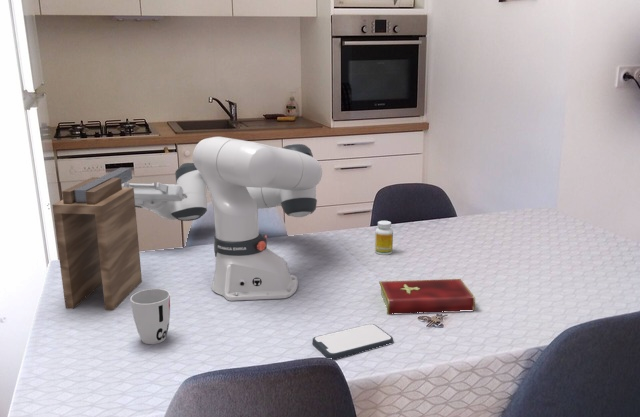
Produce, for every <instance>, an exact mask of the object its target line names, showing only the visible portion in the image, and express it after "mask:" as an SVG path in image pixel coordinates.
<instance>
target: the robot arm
mask: <svg viewBox="0 0 640 417" xmlns="http://www.w3.org/2000/svg"><path fill="white" fill-rule="evenodd" d="M192 160H193V161H192V162H185V163H184V162H183V163H182V164H181V165H179V167H178V168H177V169H176V170H175V172H174V175H175V183H176V184H170V183H169V184H167V183H164V184H163V183H161V182H157V181H156V182H152V183H130V182H129V181H127V182H125V183H123V184H122V187H124V188H134V198H135V208H137V209H144V210H147V211H151V212H153V213H155V214H156V215H157V216H159V217H161V218H163V219H166V220H170V221H175V220H178V221H182V222H183V221H184V222H188V221H189V222H190V221H196V220H198V219H200V218H202V217H203V216H204V215H205V214H206V213H207V211H208V196H207V195H208V194H207V193H209V196H210V199H211V203H212V209H213V216H214V228H215V230H214V231H215V235H214V236H213V237H214V238H213V251H214V256H215V265H214V266H215V268H214V269H215V270H214V277H213V282H212V286H211V289H212V291H213V292H214V293H216V294H218V295H220V296H222V297H224V298H225V300H227V301H230V302H231V301H232V302H233V301H254V300H256V301H257V300H276V299H277V300H278V299H287V298H289V297H292V296H293V295H294V294H295V293H296V291H297V290H298V287H299V282H298V278H297V276H295V275H294V274H290V271H289V266H288V263H287V261H286V260H285V259H284V258H283V257H282V256H280V255H278V254H276V253H275V252H274V251H273V250H271V249H270V248H268V242H267V240H268V238H267V237H268V236H267V234H265V235H262V234H261V233H260V232H259V231H260V230H259V228H260V227H259V210H262V209H263V210H264V209H269V208H270V209H271V208H276V207H277V208H278V207H281V208H282V210H283V213H285V214H286V215H287V216H289V217H293V218H303V217H307V216H309V215H311V214H313V213H314V212H315V211H316V209H317V202H318V200H317V199H316V196H317V185H318V184H320V182H321V181H322V177H323V176H322V175H323V168H322V165H321V163H320V162H319V161H318V159H316V158H315V157H314V156H313V153H312V150H311V148H310V147H309V146H307V145H306V144H301V143H291V144H287V145H285V146H283V147H278V146H273V145H269V144H265V143H260V142H256V141H251V140H249V141H248V140H243V139H238V138H230V137H224V136H212V137H211V136H210V137H207V138H204V139H202V140H200V141H199V142H198V143H197V144H196V146H195V147H194V149H193V154H192ZM207 190H208V192H207Z"/></svg>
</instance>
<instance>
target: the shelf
mask: <svg viewBox="0 0 640 417" xmlns="http://www.w3.org/2000/svg"><path fill="white" fill-rule="evenodd" d="M98 178H100V177H99V176H98V177H95V176H93V177H90V178H88V179H86V180H83V181H81V182H79V183H77V184H75V185H73V186H70V187H69V188H67V189H64V190H62V193H61V194H62V200H60V201H58V202H56V203H55V202H54V203H53V204H52V212H53V213H52V214H53V220H54V227H55V237H56V243H57V251H58V260H59V268H60V275H61V283H62V284H61V285H62V290H63V296H64V306H65V307H64V308H65V309H71V310H72V309H75V308H76V307H77V306H78V305H80V304H81V303H82V302H83V301H84V300H86V299H87V298H88V296H90V295H91V294H92V293H93V292H94V291H96V290H97V289H98V288H99V287H101V286H102V292H103V293H102V294H103V301H104V309H105V311H114V310H115V309H116V308H117V307H118V306H119V305H120V304H121V303H122V302H123V301H125V299H126V298H127V297H128V296H129V295H130V294H131V293H132V292H134V290H135V289H136V288H137V287H138V286H139V285H140V284H141V283H142V282H143V278H142V266H141V256H140V247H139V246H140V244H139V233H138V232H139V231H138V220H137V212H136V211H137V210H136V207H135V198H134V188H124V187H122V183H121V178H112V179H110V180H108V181H106V182H104V183H102V184H100V185H98V186H96V187H94V188H92V189H90V190H88V191H86V192H85V193H86V202H87V203H75V197H74V190H75V189H77V188H79V187H81V186H83V185H85V184H88V183H90V182H92V181H94V180H96V179H98Z"/></svg>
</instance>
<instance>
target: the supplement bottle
mask: <svg viewBox="0 0 640 417" xmlns="http://www.w3.org/2000/svg"><path fill="white" fill-rule="evenodd" d="M374 232H375V234H374V253H376V254H378V255H380V256H387V255H391V254H392V253H393V242H394V237H393V236H394V230H393V229H392V222H391V221H388V220H379V221H377V228H376V229H375V231H374Z"/></svg>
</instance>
